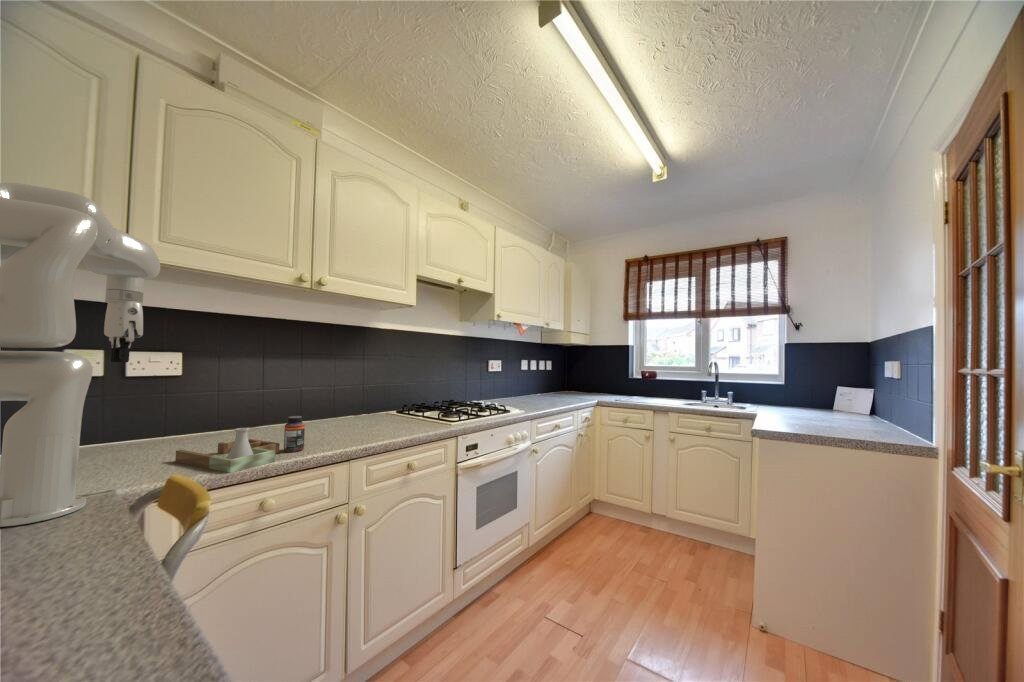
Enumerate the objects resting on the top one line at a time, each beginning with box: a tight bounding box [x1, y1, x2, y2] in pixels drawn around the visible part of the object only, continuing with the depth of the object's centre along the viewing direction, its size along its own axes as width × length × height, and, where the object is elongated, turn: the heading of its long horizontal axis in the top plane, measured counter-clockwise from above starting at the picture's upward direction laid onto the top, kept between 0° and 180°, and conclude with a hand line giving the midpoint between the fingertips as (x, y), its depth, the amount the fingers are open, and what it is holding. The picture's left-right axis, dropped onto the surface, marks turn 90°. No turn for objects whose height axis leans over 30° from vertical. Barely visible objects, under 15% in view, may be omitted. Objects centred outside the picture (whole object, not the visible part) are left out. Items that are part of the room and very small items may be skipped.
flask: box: [226, 427, 254, 459], centre depth 109 cm, size 7×7×10 cm
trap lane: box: [174, 438, 280, 474], centre depth 113 cm, size 20×25×3 cm
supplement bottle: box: [283, 415, 306, 453], centre depth 125 cm, size 6×6×11 cm
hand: (119, 362), depth 105 cm, fingers closed
